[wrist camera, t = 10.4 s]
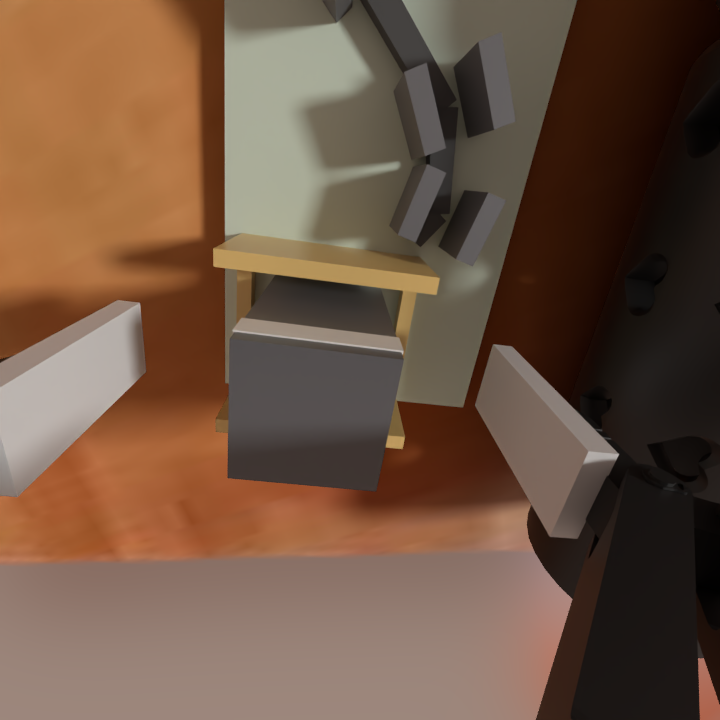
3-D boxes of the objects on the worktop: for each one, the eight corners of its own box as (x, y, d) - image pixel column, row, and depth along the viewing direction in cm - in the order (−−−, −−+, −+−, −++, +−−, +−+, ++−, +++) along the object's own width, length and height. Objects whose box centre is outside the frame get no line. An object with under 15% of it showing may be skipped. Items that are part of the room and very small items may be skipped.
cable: (267, -148, 12) (262, -172, 11) (366, -206, 12) (367, -236, 11) (408, 247, 17) (412, 251, 16) (481, 216, 17) (488, 218, 16)
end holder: (242, 233, 17) (213, 248, 13) (419, 257, 17) (439, 277, 14) (239, 384, 20) (215, 431, 16) (392, 400, 20) (402, 448, 17)
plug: (276, 270, 17) (227, 336, 10) (381, 284, 18) (406, 358, 10) (271, 365, 19) (225, 479, 12) (365, 376, 20) (377, 492, 12)
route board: (232, -166, 13) (187, -305, 9) (589, -88, 14) (677, -184, 10) (230, 374, 20) (205, 416, 17) (458, 397, 21) (480, 442, 18)
